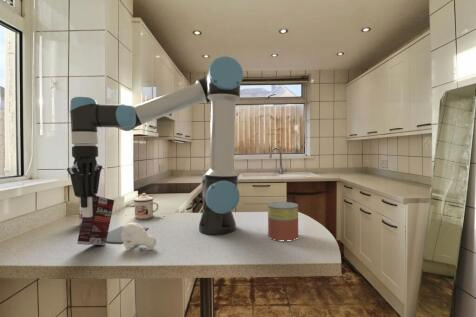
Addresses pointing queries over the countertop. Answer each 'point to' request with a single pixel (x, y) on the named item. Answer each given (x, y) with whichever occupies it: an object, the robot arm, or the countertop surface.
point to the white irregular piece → (136, 237)
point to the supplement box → (96, 223)
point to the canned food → (283, 220)
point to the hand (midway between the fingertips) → (87, 216)
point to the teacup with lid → (144, 207)
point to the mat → (116, 235)
